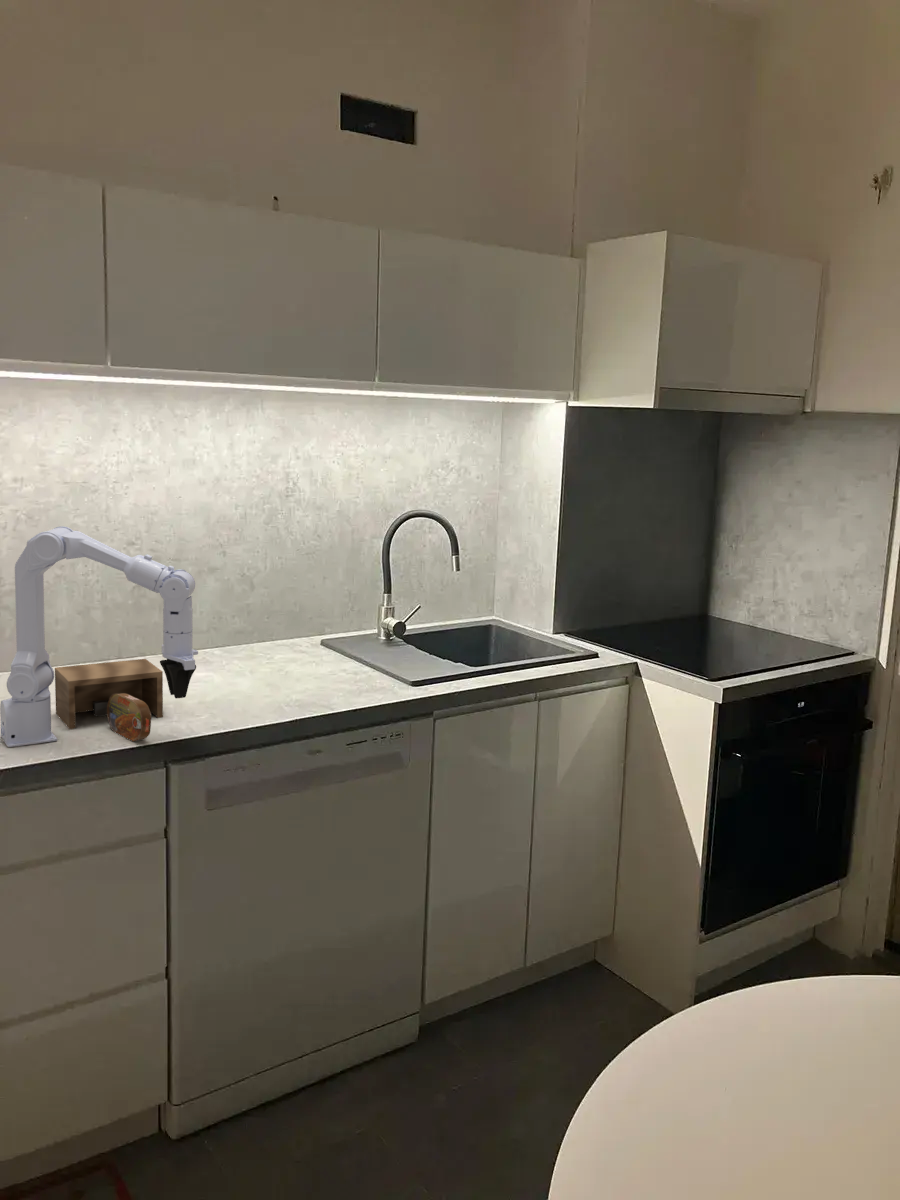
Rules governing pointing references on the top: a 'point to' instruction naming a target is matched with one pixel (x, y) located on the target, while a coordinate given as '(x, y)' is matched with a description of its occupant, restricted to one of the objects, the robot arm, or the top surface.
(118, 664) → the shelf
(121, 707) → the tin
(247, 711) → the top surface
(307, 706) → the top surface
